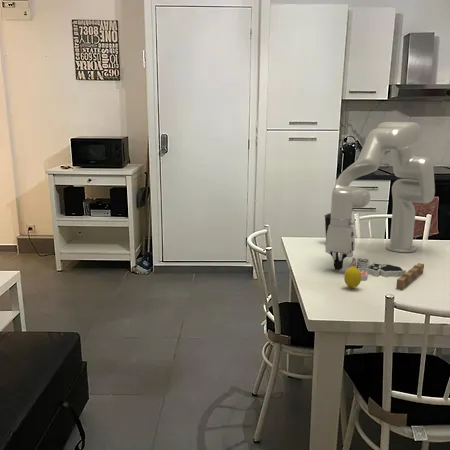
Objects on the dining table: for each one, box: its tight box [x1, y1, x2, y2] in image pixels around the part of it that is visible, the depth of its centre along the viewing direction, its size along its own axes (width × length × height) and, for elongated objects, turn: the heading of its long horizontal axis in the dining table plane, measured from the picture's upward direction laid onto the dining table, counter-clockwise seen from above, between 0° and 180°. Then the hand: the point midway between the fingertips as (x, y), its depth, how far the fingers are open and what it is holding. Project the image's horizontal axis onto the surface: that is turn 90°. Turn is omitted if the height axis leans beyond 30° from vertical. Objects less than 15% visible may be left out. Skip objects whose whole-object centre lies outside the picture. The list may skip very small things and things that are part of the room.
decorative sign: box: [350, 257, 407, 282], centre depth 173 cm, size 22×2×20 cm
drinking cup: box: [324, 212, 331, 236], centre depth 212 cm, size 8×8×20 cm
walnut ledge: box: [395, 262, 425, 291], centre depth 165 cm, size 24×2×4 cm, turn 141°
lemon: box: [343, 266, 362, 290], centre depth 156 cm, size 6×6×8 cm
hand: (338, 269), depth 175 cm, fingers closed
